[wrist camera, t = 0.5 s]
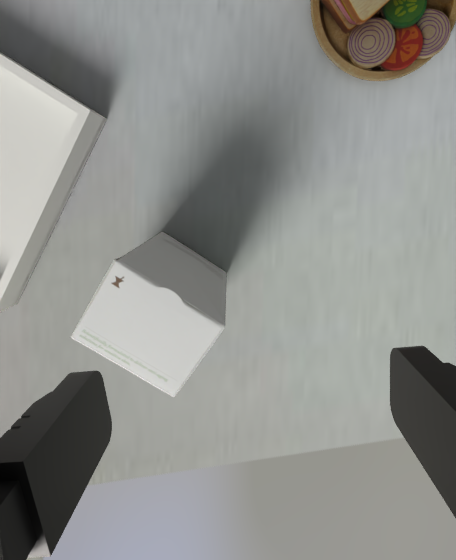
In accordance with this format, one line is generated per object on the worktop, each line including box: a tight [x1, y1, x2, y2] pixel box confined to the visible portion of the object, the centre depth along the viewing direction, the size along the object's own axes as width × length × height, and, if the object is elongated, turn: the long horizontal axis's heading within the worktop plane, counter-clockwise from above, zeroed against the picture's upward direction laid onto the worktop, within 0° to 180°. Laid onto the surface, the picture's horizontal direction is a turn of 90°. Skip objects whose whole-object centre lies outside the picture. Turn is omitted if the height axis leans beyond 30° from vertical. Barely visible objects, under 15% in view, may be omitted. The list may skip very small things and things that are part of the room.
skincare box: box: [71, 232, 227, 397], centre depth 31 cm, size 8×7×16 cm
